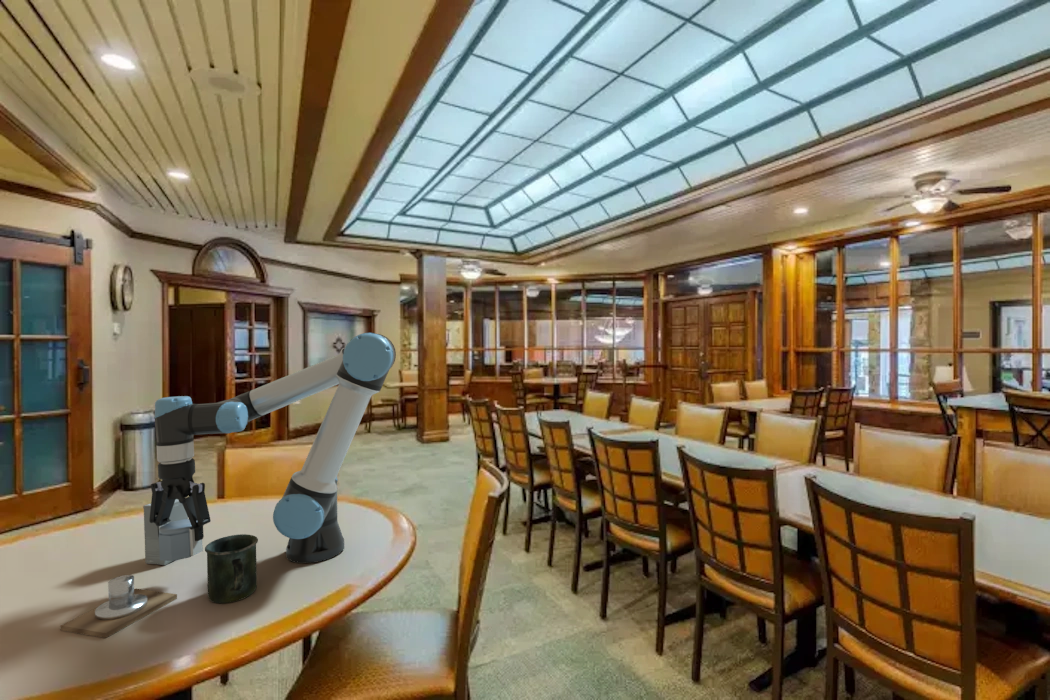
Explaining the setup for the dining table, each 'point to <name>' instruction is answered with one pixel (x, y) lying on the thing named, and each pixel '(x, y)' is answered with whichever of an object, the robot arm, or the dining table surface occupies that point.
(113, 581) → the stud
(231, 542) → the mug
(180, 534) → the cap
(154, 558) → the skincare box
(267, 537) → the dining table surface
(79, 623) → the base board
